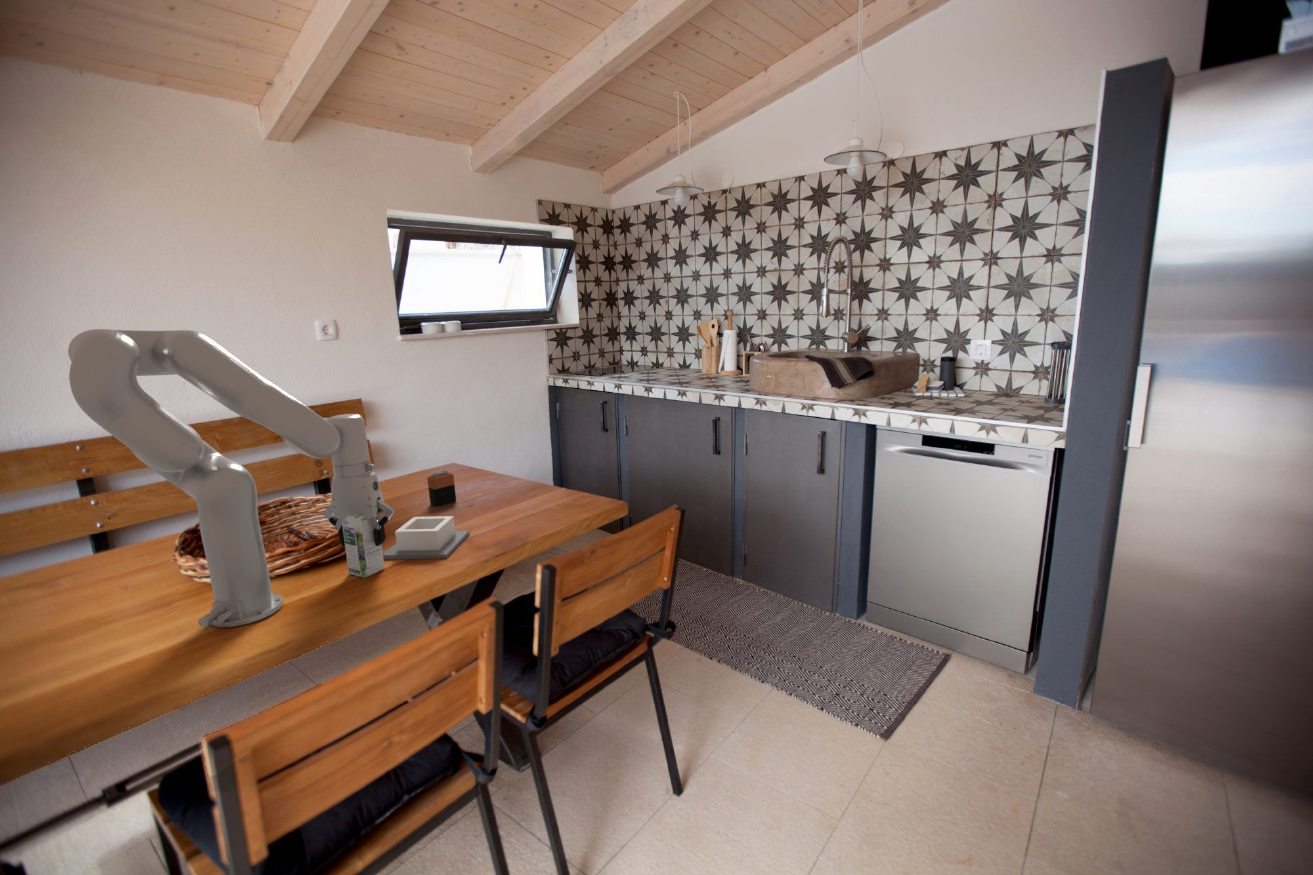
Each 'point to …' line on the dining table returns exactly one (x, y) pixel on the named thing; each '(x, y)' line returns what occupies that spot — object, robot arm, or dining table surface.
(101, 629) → the dining table surface
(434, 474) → the battery
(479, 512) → the dining table surface
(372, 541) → the syrup box
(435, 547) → the socket
